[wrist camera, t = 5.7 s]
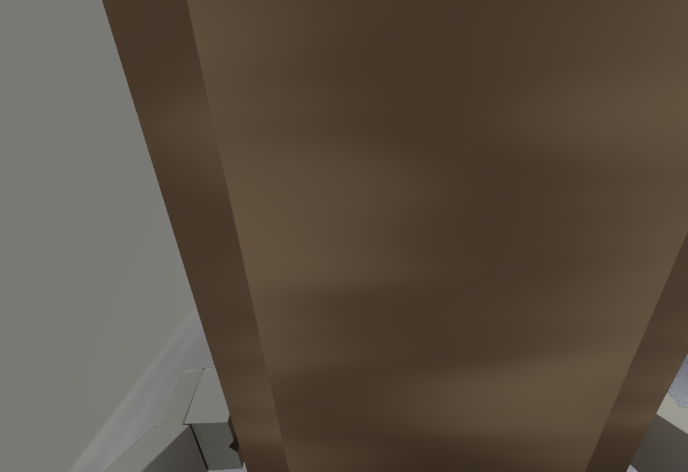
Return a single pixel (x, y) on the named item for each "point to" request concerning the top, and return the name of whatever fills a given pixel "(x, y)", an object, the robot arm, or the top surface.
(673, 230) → the walnut sleeve
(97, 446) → the top surface
